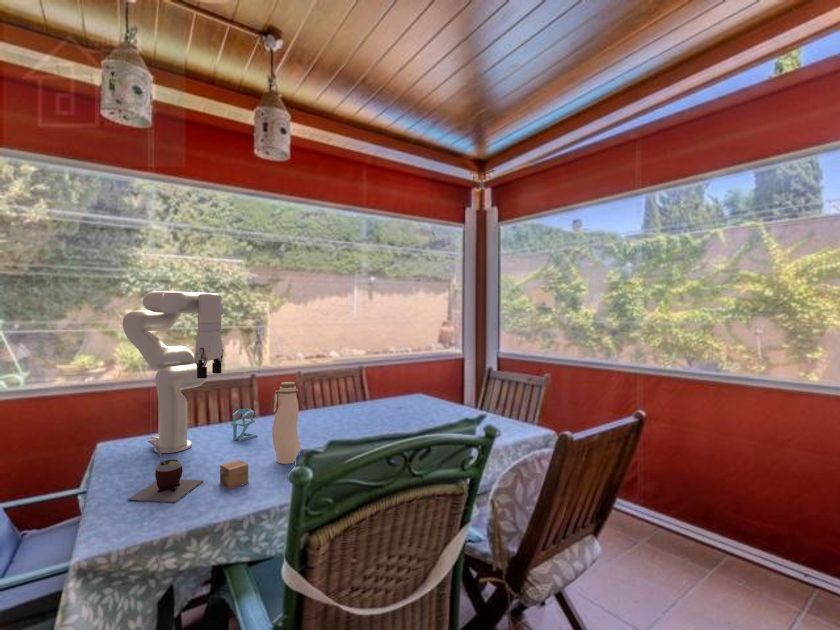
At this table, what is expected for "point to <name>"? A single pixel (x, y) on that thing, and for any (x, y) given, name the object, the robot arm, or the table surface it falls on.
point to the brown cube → (233, 474)
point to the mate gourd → (167, 473)
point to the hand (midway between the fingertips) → (209, 375)
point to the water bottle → (286, 423)
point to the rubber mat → (166, 492)
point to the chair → (243, 424)
